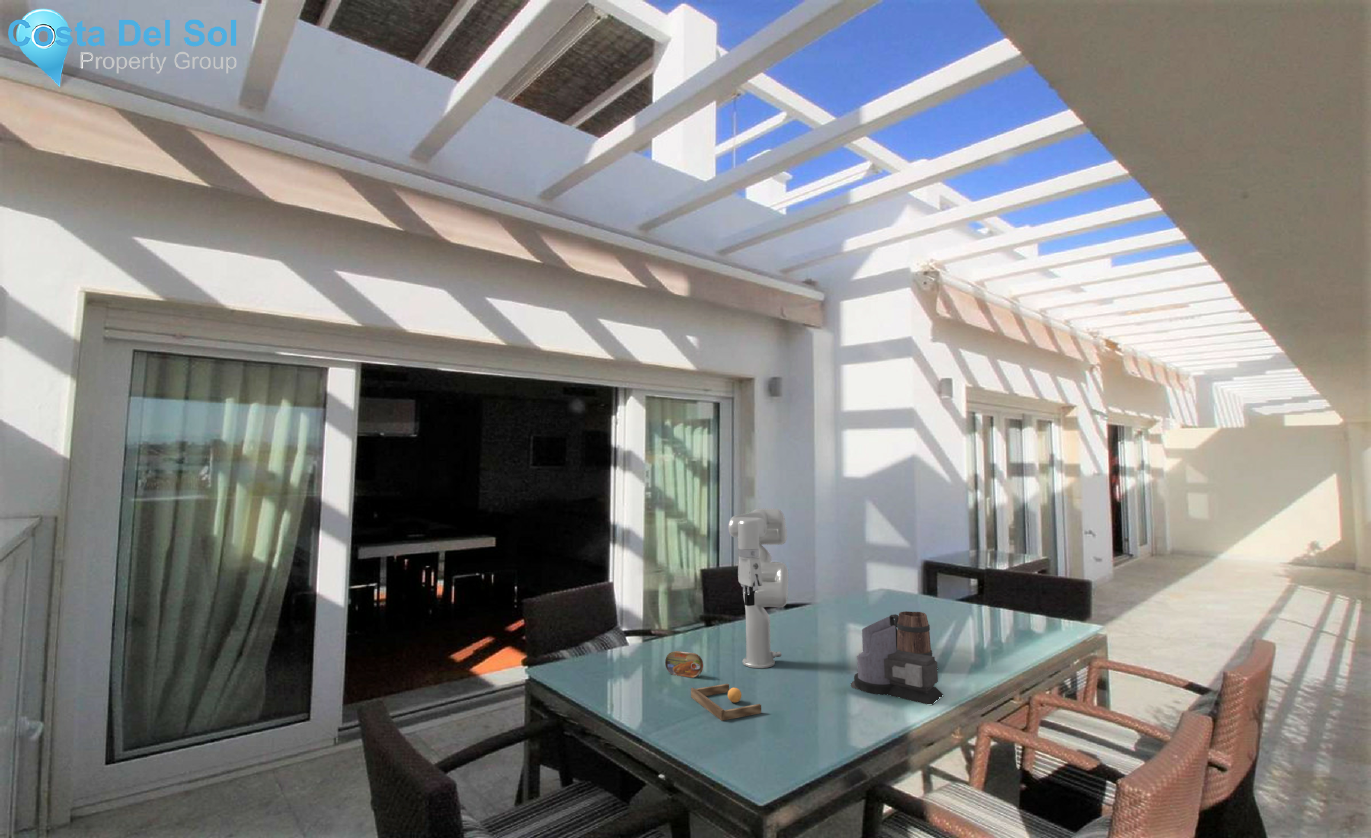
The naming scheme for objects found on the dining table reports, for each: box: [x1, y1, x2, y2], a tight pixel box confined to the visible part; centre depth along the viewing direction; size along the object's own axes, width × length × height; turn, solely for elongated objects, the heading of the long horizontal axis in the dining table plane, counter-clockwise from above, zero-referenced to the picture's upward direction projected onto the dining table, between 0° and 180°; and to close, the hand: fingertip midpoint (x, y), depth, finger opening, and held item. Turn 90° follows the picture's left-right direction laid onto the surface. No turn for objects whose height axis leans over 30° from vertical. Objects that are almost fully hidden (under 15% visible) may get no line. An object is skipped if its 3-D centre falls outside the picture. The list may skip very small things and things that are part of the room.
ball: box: [727, 687, 742, 704], centre depth 203 cm, size 4×4×4 cm
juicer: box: [850, 616, 944, 705], centre depth 214 cm, size 30×16×24 cm, turn 49°
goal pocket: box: [690, 683, 762, 722], centre depth 200 cm, size 14×22×3 cm, turn 24°
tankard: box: [888, 610, 939, 671], centre depth 242 cm, size 24×17×20 cm
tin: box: [664, 650, 704, 679], centre depth 231 cm, size 15×3×8 cm, turn 62°
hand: (749, 605), depth 224 cm, fingers closed
